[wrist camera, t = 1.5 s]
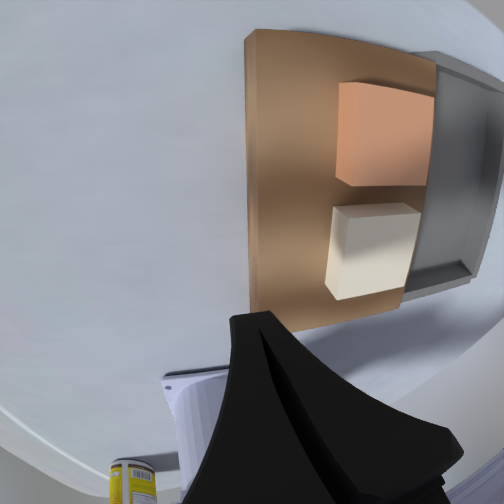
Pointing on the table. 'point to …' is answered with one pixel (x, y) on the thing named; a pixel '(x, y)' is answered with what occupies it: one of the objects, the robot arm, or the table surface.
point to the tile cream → (370, 248)
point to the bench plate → (311, 167)
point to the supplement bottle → (132, 483)
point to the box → (459, 178)
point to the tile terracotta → (383, 135)
